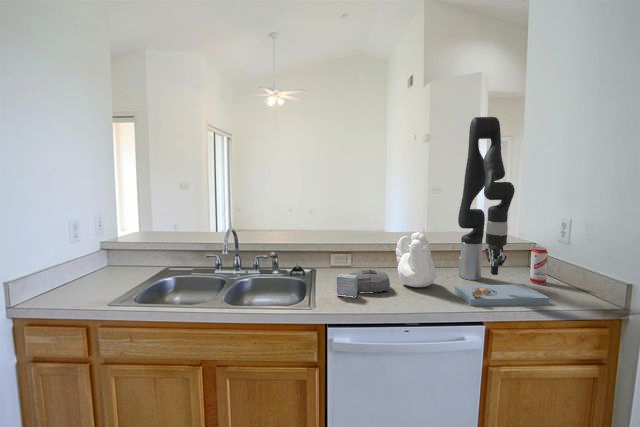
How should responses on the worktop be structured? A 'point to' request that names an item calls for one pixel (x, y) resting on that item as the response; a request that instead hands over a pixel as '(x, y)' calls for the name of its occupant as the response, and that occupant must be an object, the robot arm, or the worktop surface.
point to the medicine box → (347, 285)
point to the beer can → (538, 265)
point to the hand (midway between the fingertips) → (494, 274)
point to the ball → (484, 291)
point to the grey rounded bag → (372, 281)
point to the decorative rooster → (415, 261)
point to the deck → (502, 295)
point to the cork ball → (476, 293)
